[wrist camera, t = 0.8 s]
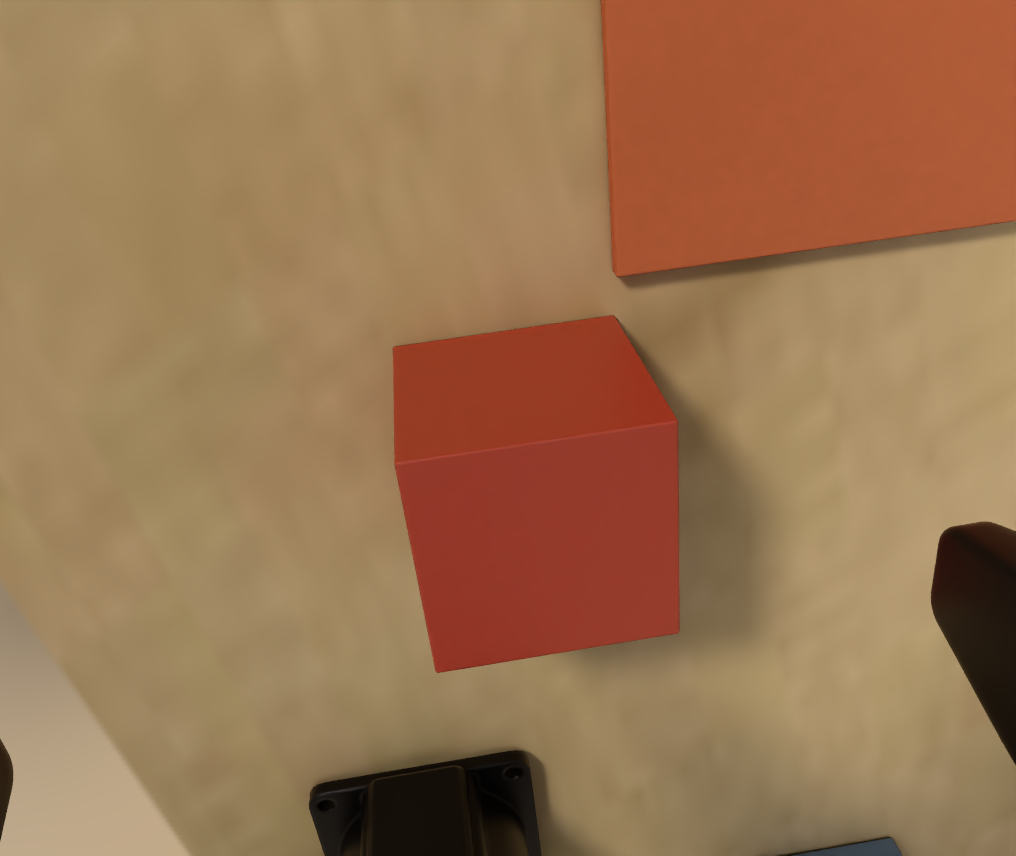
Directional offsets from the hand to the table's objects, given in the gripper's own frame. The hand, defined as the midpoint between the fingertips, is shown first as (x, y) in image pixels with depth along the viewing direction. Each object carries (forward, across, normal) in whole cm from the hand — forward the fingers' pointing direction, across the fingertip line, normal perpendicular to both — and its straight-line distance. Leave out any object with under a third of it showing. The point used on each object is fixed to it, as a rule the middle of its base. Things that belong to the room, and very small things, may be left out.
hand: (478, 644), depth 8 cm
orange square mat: (+12, -8, -4) cm, 15 cm away
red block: (+12, -1, +4) cm, 13 cm away
